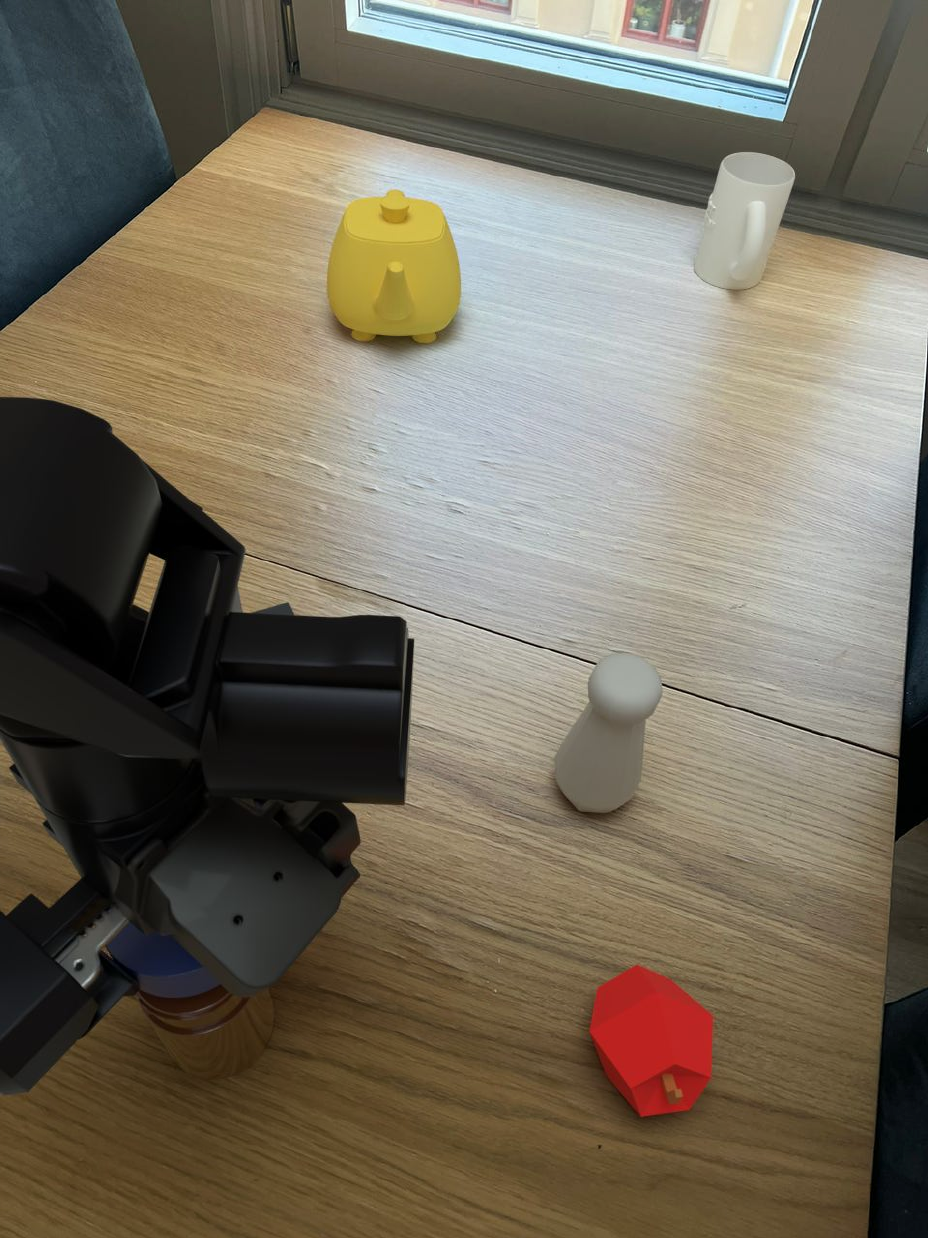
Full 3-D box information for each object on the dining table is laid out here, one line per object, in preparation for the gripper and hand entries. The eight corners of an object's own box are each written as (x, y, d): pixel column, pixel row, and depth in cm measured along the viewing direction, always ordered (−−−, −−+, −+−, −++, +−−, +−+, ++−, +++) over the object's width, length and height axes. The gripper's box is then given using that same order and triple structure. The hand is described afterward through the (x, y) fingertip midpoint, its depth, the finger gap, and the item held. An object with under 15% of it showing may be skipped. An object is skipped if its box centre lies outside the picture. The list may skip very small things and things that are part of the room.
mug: (698, 305, 104) (728, 199, 95) (688, 251, 112) (715, 148, 103) (771, 312, 104) (808, 207, 95) (756, 257, 112) (789, 155, 103)
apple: (587, 934, 52) (630, 1064, 45) (699, 939, 53) (757, 1065, 46) (555, 1018, 55) (591, 1151, 48) (661, 1021, 56) (711, 1150, 49)
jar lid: (238, 835, 47) (231, 808, 45) (282, 959, 43) (277, 936, 41) (97, 888, 45) (82, 863, 43) (130, 1025, 41) (115, 1004, 39)
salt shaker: (534, 765, 65) (561, 650, 55) (607, 740, 66) (646, 624, 56) (573, 837, 61) (610, 729, 51) (648, 809, 63) (698, 698, 53)
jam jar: (179, 1099, 50) (140, 1041, 42) (154, 993, 53) (113, 921, 45) (288, 1051, 52) (270, 987, 44) (256, 952, 55) (234, 876, 47)
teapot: (456, 277, 105) (463, 161, 95) (463, 385, 92) (472, 265, 82) (332, 272, 104) (327, 155, 94) (322, 381, 91) (314, 259, 81)
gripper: (41, 1155, 24) (156, 1236, 36) (461, 692, 34) (442, 874, 46) (-204, 905, 28) (-27, 1053, 40) (240, 554, 38) (276, 756, 50)
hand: (187, 925), depth 44 cm, fingers closed on jar lid, 7 cm apart
